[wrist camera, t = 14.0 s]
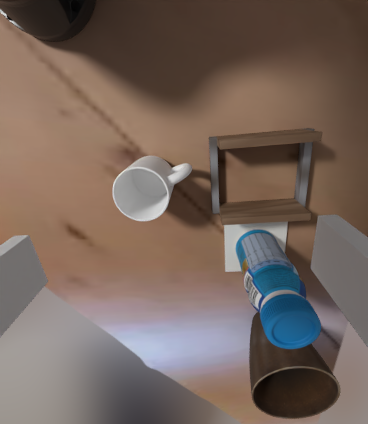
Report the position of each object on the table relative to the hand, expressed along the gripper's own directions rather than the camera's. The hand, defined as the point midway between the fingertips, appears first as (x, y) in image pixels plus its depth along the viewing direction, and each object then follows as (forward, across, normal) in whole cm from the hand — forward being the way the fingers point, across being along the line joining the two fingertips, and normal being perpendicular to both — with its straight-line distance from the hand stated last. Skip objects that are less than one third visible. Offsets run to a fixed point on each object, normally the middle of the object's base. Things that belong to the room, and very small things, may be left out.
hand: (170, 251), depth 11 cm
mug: (+32, -5, -4) cm, 33 cm away
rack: (+32, +12, -5) cm, 35 cm away
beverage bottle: (+32, +12, -20) cm, 39 cm away
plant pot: (+32, +16, -41) cm, 54 cm away
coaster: (+32, +12, -20) cm, 40 cm away
